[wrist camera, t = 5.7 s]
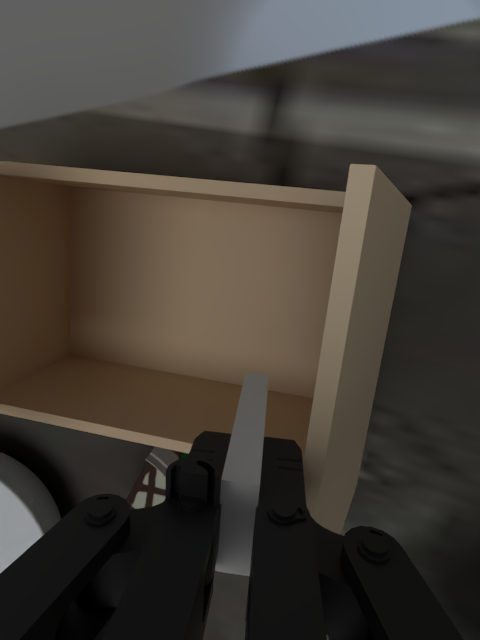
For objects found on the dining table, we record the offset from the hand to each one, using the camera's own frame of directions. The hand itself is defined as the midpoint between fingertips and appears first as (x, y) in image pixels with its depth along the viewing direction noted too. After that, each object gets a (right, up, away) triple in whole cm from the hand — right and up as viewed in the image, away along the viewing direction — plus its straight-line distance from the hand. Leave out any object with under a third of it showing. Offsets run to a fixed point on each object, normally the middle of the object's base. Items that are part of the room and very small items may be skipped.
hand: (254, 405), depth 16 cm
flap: (+4, 0, +2) cm, 5 cm away
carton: (-4, +6, +22) cm, 23 cm away
